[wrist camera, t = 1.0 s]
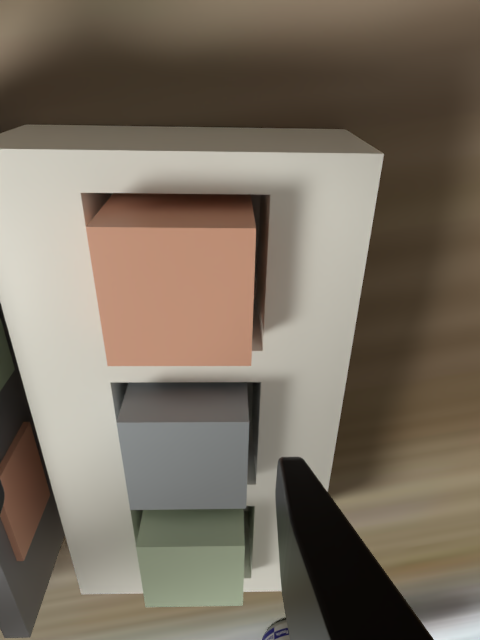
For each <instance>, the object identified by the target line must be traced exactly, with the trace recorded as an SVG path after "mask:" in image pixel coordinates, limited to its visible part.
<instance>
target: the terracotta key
mask: <svg viewBox="0 0 480 640" xmlns="http://www.w3.org/2000/svg"><path fill="white" fill-rule="evenodd" d="M86 232H87V238H88V245H89V251H90V257H91V264H92V270H93V277H94V283H95V289H96V296H97V302H98V308H99V315H100V321H101V327H102V334H103V340H104V346H105V353H106V359H107V365H108V366H251V360H252V332H253V304H254V276H255V248H256V224H255V218H254V213H253V207H252V201H251V195H250V194H158V193H113V194H112V195H111V197H110V198H109V199H108V200H107V202H106V203H105V204H104V205H103V206H102V208H101V209H100V210H99V211H98V213H97V214H96V215H95V216H94V218H93V219H92V220H91V221H90V222H89V224H88V225H87V226H86Z"/></svg>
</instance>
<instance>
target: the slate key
mask: <svg viewBox="0 0 480 640" xmlns="http://www.w3.org/2000/svg"><path fill="white" fill-rule="evenodd" d="M117 429H118V435H119V442H120V448H121V454H122V461H123V467H124V474H125V480H126V486H127V493H128V499H129V505H130V510H176V509H246V500H247V472H248V444H249V409H248V393H247V382H128V386H127V389H126V393H125V396H124V399H123V403H122V406H121V409H120V413H119V416H118V419H117Z"/></svg>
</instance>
